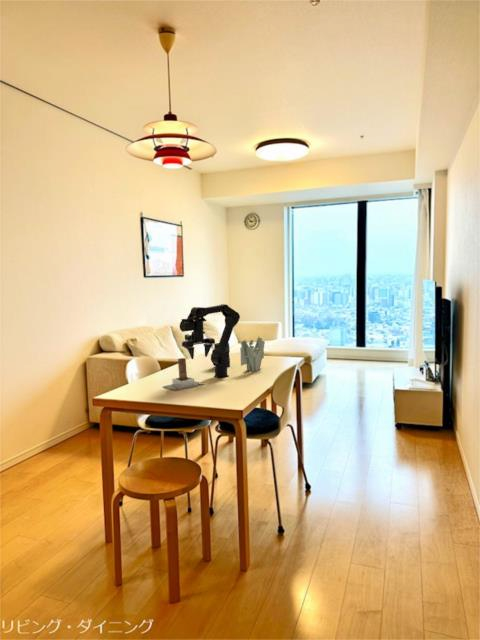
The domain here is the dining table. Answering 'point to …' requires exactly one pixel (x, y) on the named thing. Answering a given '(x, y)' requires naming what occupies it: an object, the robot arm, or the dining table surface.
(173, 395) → the dining table surface
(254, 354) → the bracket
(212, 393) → the dining table surface
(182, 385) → the grey stand base
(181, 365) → the rail post
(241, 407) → the dining table surface
